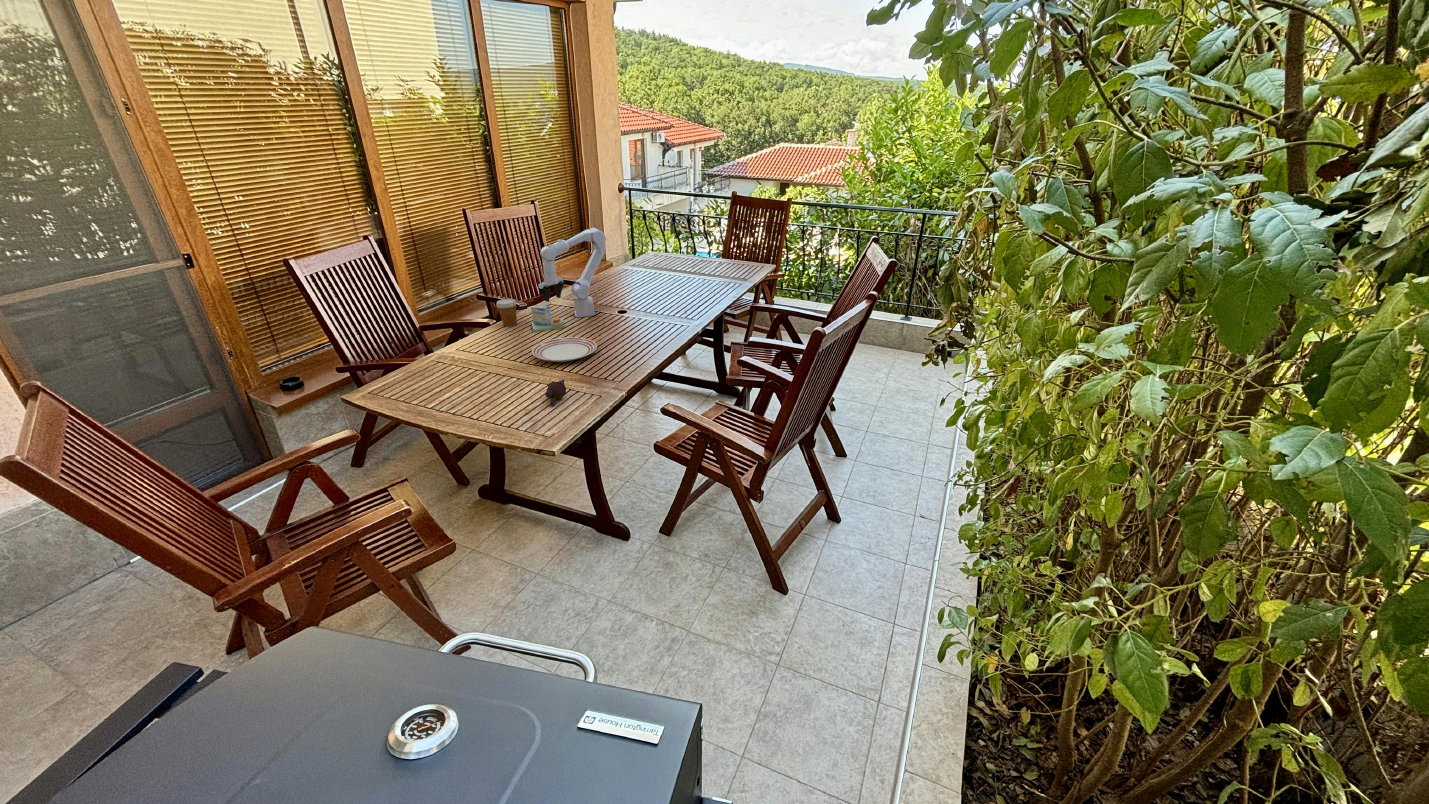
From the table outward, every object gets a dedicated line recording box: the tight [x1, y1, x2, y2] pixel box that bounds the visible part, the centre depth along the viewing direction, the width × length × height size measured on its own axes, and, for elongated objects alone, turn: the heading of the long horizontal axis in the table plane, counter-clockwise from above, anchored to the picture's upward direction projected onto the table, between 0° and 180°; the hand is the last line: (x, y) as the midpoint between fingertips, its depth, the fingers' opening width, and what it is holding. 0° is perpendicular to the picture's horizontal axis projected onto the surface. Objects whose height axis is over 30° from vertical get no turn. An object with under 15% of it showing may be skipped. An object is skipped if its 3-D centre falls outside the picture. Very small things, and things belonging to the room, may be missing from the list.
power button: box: [552, 317, 561, 323], centre depth 288 cm, size 3×3×2 cm
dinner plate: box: [531, 336, 598, 363], centre depth 258 cm, size 27×27×3 cm
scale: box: [530, 318, 564, 333], centre depth 291 cm, size 15×13×3 cm
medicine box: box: [530, 304, 553, 326], centre depth 289 cm, size 8×4×9 cm, turn 73°
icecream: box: [544, 379, 567, 407], centre depth 220 cm, size 7×7×15 cm
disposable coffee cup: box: [495, 298, 518, 328], centre depth 292 cm, size 10×10×12 cm
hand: (552, 299), depth 296 cm, fingers open, 7 cm apart
